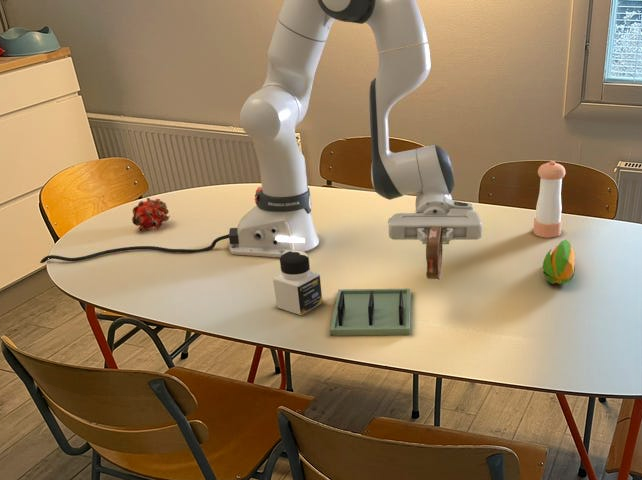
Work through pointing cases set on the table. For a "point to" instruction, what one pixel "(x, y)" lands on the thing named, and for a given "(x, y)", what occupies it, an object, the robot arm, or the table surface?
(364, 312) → the drying rack
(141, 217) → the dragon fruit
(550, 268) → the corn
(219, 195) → the table surface
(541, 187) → the pepper shaker
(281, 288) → the medicine bottle
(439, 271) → the tin
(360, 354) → the table surface
